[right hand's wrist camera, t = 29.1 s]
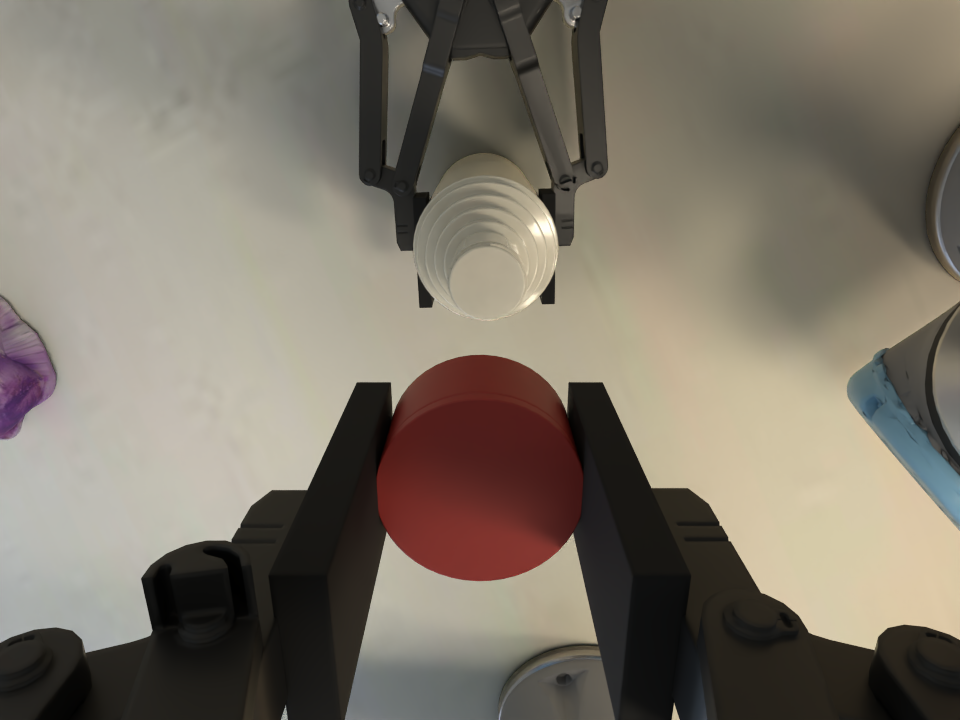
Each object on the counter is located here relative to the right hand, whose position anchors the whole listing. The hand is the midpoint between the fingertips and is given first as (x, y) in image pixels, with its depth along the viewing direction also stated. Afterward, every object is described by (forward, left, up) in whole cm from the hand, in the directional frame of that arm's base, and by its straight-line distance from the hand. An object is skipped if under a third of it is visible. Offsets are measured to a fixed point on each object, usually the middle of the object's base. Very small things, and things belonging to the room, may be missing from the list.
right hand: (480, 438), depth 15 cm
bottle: (0, -1, -33) cm, 33 cm away
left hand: (-2, +3, -26) cm, 27 cm away
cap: (0, 0, +2) cm, 2 cm away
